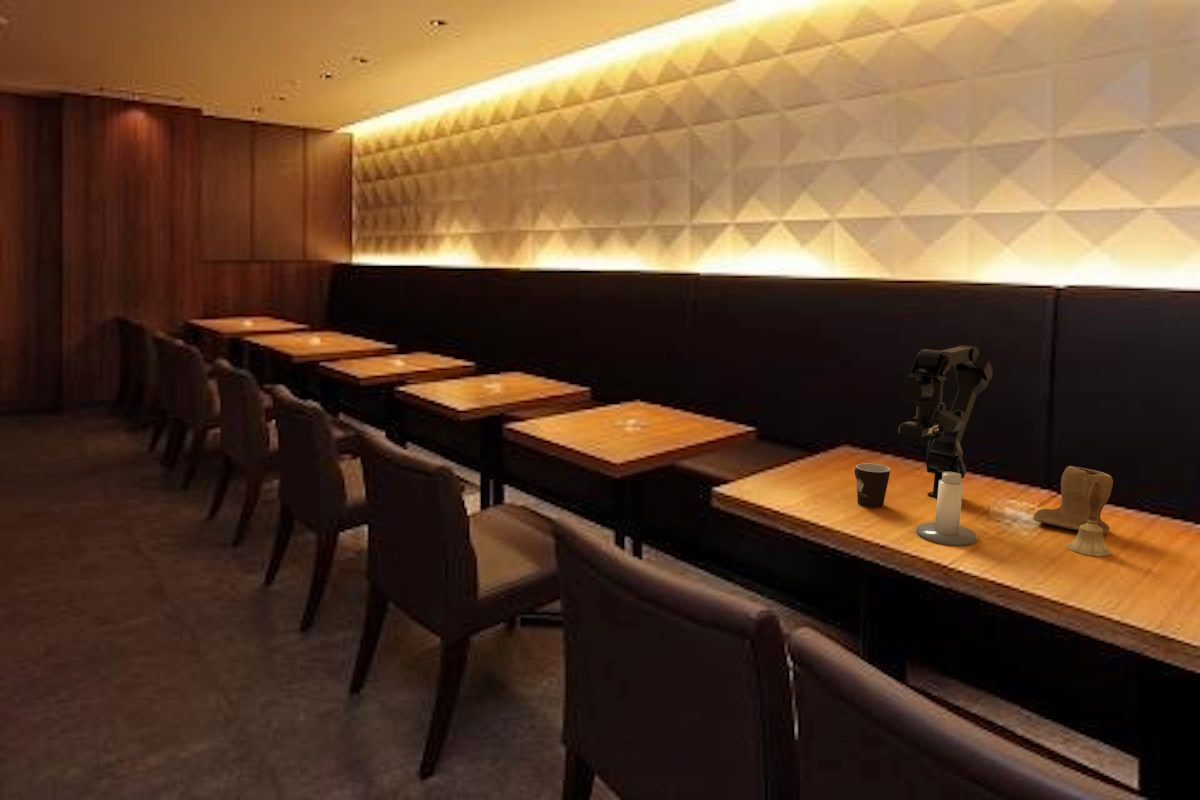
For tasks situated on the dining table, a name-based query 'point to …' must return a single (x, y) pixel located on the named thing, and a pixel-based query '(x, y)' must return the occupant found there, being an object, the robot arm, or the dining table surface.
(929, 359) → the robot arm
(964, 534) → the slate plate
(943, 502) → the capped bottle
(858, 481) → the coffee mug
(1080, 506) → the brown boot
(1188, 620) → the dining table surface
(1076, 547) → the hand bell
